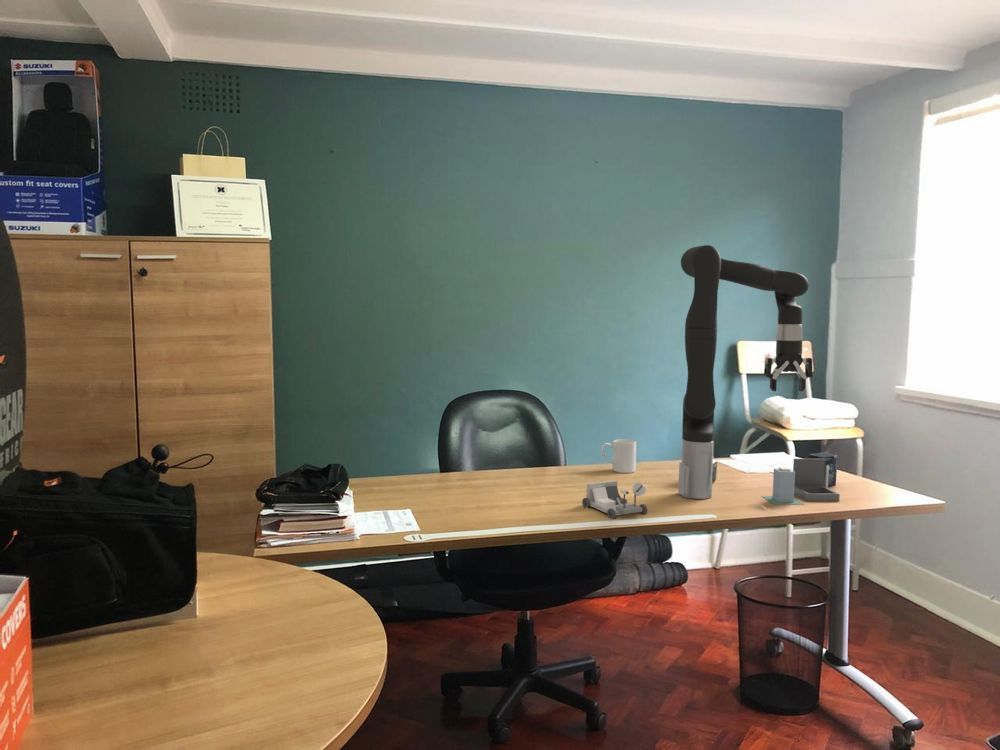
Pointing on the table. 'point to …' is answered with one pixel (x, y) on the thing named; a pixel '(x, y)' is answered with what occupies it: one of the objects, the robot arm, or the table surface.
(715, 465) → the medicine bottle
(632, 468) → the mug
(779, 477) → the module
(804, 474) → the case
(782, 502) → the pad
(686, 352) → the robot arm
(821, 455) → the box
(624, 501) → the toy car
